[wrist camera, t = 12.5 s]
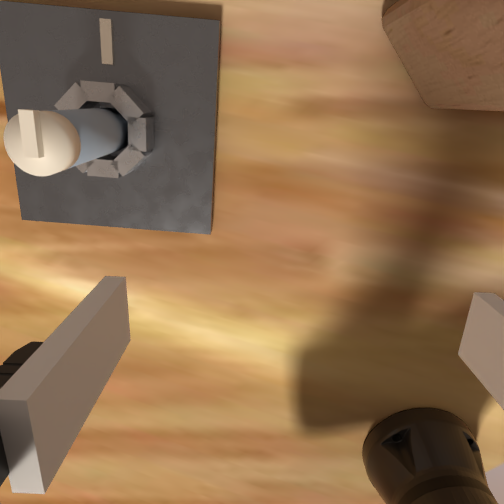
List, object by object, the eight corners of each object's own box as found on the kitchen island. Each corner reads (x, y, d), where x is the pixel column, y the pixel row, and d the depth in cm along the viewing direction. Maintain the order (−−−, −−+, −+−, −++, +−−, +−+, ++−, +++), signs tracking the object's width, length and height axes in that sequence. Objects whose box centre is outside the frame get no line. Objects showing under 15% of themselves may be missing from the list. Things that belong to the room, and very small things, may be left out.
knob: (133, 152, 38) (65, 180, 25) (92, 148, 38) (2, 175, 25) (131, 108, 37) (58, 112, 23) (89, 104, 37) (-9, 107, 23)
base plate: (211, 230, 43) (207, 244, 39) (29, 215, 42) (4, 228, 38) (220, 23, 36) (216, 13, 31) (1, 3, 35) (-34, -10, 31)
